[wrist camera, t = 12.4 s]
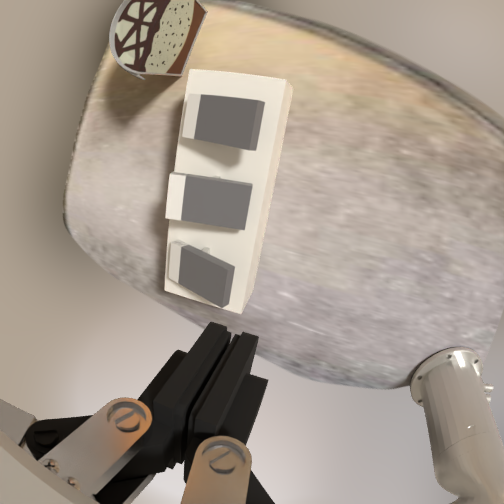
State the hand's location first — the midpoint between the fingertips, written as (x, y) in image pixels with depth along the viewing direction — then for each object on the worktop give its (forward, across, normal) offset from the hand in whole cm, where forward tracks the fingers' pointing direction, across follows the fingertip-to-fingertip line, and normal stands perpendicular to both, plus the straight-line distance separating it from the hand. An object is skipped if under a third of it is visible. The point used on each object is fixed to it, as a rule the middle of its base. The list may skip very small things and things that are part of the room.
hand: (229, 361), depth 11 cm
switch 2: (+21, +9, 0) cm, 23 cm away
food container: (+28, +20, -18) cm, 39 cm away
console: (+29, +9, 0) cm, 30 cm away
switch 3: (+21, +9, +8) cm, 24 cm away
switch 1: (+20, +9, -8) cm, 24 cm away
